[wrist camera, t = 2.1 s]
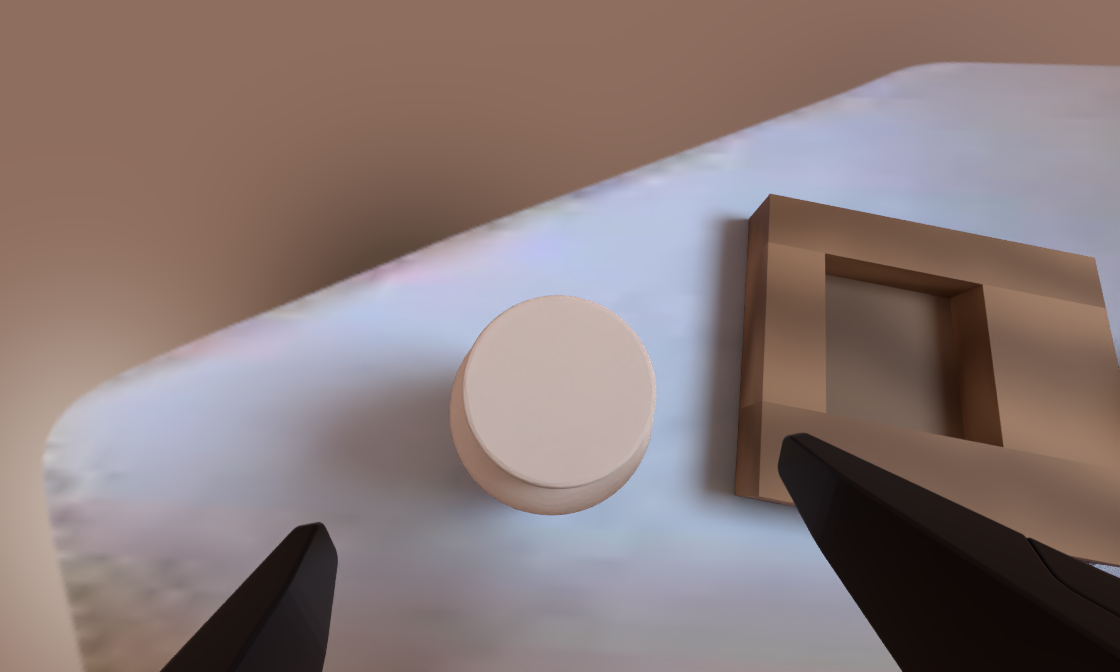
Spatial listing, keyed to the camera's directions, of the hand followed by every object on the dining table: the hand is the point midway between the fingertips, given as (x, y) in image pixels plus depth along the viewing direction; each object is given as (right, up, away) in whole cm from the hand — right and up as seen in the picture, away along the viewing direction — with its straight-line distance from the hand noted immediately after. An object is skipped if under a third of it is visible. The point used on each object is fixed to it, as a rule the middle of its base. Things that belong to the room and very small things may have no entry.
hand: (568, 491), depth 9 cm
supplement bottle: (-1, -1, +10) cm, 10 cm away
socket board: (+15, +1, +12) cm, 19 cm away
